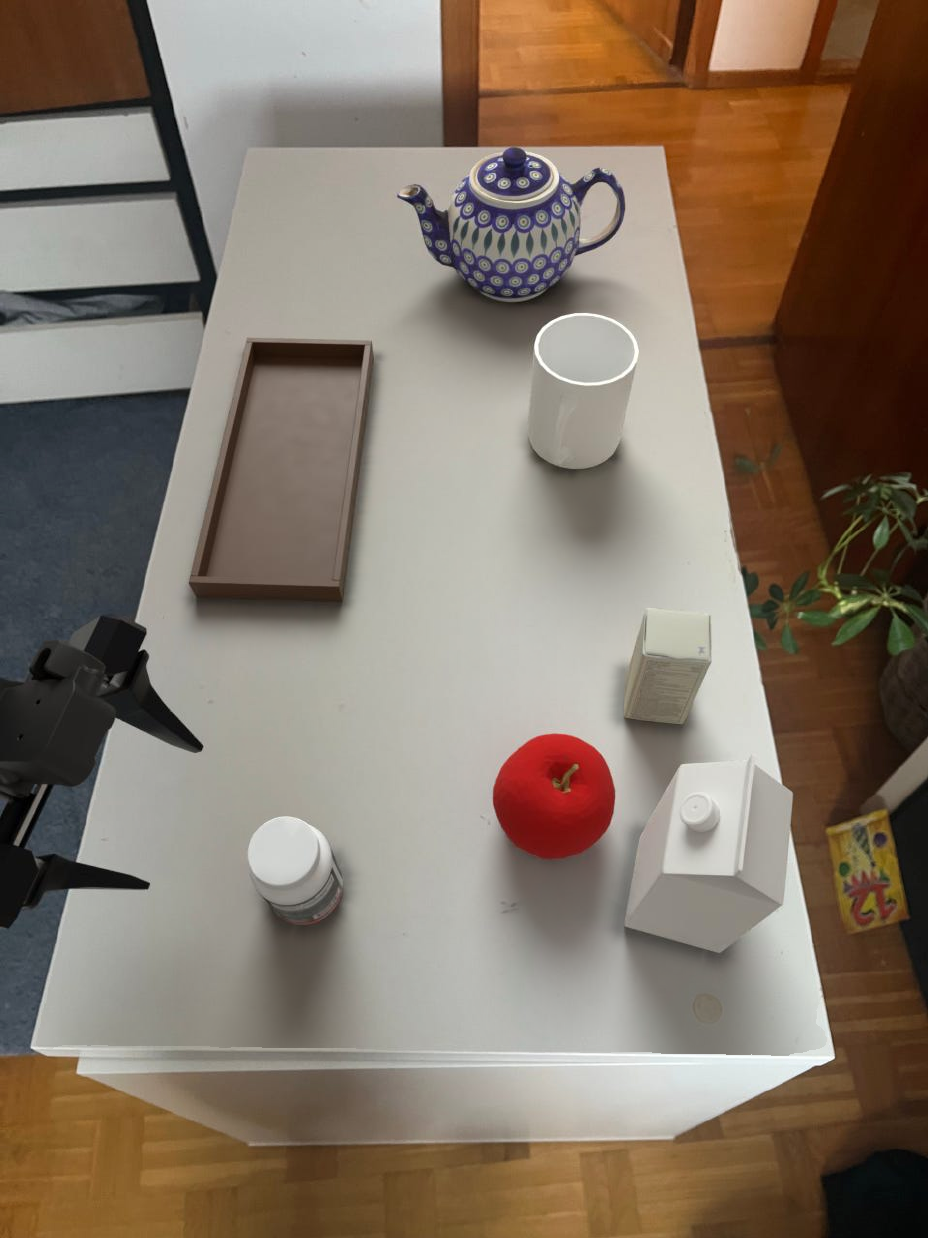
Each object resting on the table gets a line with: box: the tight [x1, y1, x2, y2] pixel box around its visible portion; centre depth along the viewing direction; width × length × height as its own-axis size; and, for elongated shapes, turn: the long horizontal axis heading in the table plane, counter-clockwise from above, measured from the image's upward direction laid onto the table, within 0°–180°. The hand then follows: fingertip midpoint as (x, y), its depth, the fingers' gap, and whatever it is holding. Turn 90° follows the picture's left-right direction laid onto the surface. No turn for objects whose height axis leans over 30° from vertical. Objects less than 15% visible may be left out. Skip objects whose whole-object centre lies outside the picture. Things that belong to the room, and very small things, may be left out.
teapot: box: [396, 146, 626, 303], centre depth 97 cm, size 25×15×15 cm, turn 93°
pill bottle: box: [246, 816, 344, 926], centre depth 62 cm, size 6×6×10 cm
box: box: [623, 607, 713, 725], centre depth 70 cm, size 5×4×11 cm
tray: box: [188, 337, 375, 603], centre depth 87 cm, size 31×13×2 cm, turn 178°
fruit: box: [492, 732, 616, 860], centre depth 65 cm, size 9×9×10 cm
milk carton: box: [624, 753, 794, 954], centre depth 58 cm, size 7×7×19 cm
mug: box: [527, 312, 640, 470], centre depth 84 cm, size 10×12×12 cm
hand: (174, 815), depth 56 cm, fingers open, 9 cm apart
